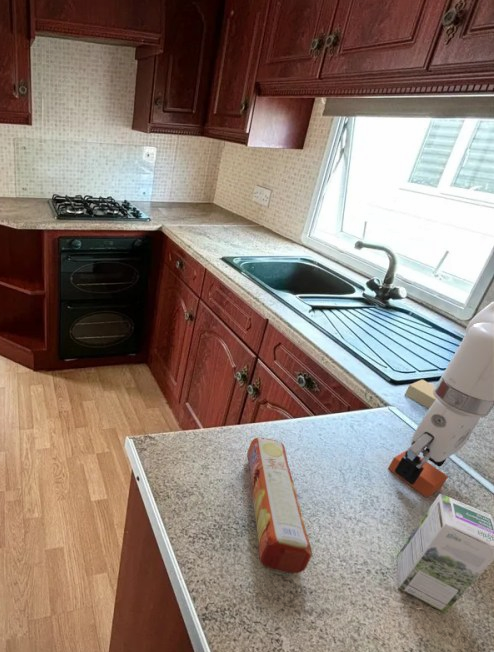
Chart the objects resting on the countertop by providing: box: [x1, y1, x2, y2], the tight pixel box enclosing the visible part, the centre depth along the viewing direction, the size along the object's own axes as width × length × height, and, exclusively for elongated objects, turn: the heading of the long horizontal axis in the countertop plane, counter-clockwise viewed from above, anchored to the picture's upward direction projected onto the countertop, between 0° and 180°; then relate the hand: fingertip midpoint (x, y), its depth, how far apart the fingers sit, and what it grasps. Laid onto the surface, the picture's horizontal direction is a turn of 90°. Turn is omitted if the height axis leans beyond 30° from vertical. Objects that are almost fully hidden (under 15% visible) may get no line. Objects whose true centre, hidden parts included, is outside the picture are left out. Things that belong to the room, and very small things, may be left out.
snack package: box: [246, 437, 313, 574], centre depth 64 cm, size 21×7×7 cm, turn 169°
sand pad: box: [404, 379, 437, 410], centre depth 97 cm, size 8×6×3 cm
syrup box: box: [396, 493, 494, 614], centre depth 54 cm, size 6×6×14 cm
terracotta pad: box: [387, 449, 449, 498], centre depth 74 cm, size 7×5×3 cm
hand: (418, 469), depth 74 cm, fingers open, 9 cm apart
